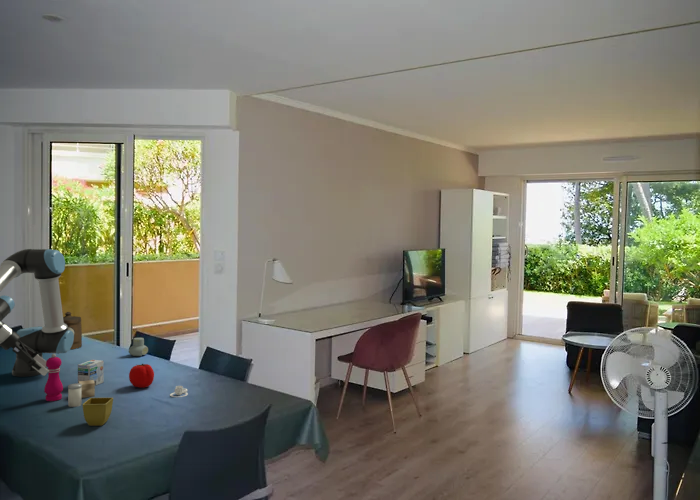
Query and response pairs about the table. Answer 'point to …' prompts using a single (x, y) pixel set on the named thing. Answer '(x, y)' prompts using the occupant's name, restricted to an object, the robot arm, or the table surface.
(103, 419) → the flower pot
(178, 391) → the teacup and saucer
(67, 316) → the wooden container
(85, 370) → the light bulb box
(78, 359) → the table surface
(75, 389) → the salt shaker
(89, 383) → the light oak block
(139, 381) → the tomato
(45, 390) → the pepper mill
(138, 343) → the air freshener
